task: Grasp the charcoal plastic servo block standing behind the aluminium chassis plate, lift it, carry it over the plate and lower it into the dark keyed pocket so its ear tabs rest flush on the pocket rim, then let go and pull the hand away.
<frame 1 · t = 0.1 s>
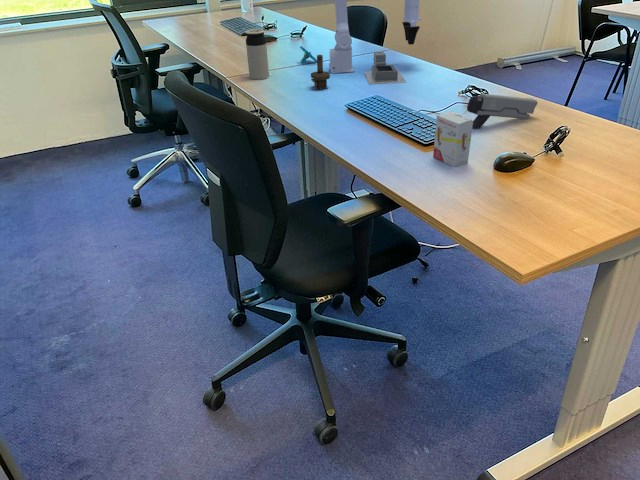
hand: (409, 42, 211), 10 cm above the table, tool pointing down, fingers open, 7 cm apart
servo: (379, 69, 216), on the table
ink box: (449, 160, 137), on the table
gun: (499, 124, 158), on the table
teal angled stand: (308, 63, 229), on the table
travel mug: (259, 77, 212), on the table
chassis: (384, 77, 205), on the table
industrial component: (322, 88, 197), on the table
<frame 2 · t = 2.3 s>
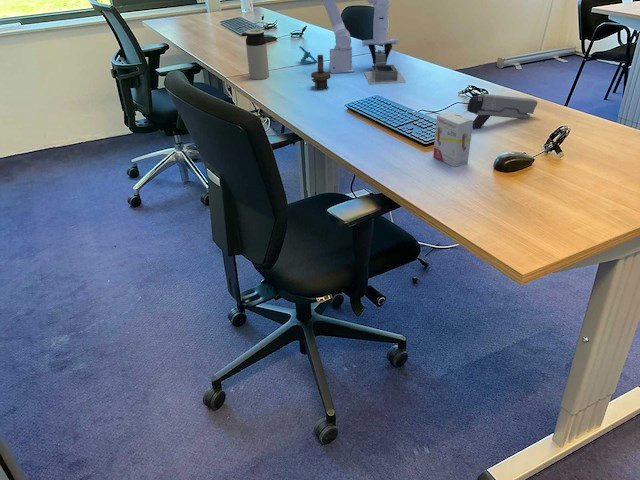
hand: (379, 63, 214), 2 cm above the table, tool pointing down, fingers closed on servo, 4 cm apart
servo: (379, 69, 215), on the table, touching gripper
everything else where it was.
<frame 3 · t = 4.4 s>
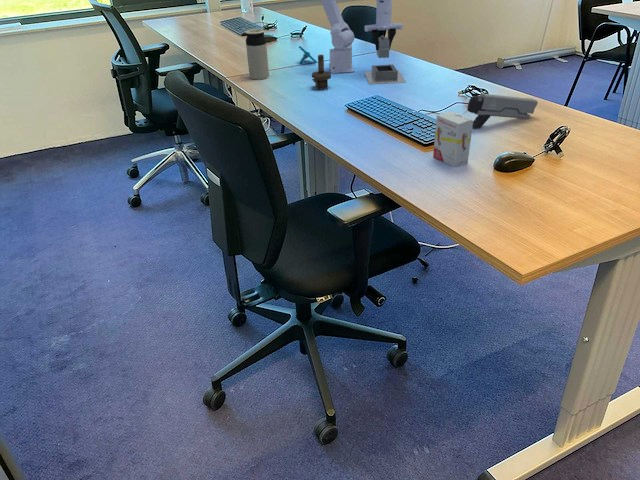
hand: (382, 49, 204), 9 cm above the table, tool pointing down, fingers closed on servo, 4 cm apart
servo: (382, 56, 206), point 7 cm above the table, touching gripper
everything else where it was.
when the fingers open (4 cm above the table, at t = 6.5 s): servo drops 1 cm, resting on chassis.
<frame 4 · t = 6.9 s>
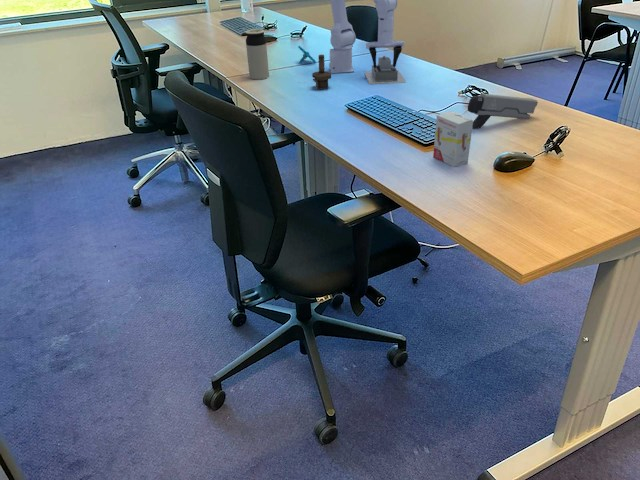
hand: (384, 66, 202), 4 cm above the table, tool pointing down, fingers open, 7 cm apart
servo: (384, 76, 204), point 1 cm above the table, touching chassis
everything else where it was.
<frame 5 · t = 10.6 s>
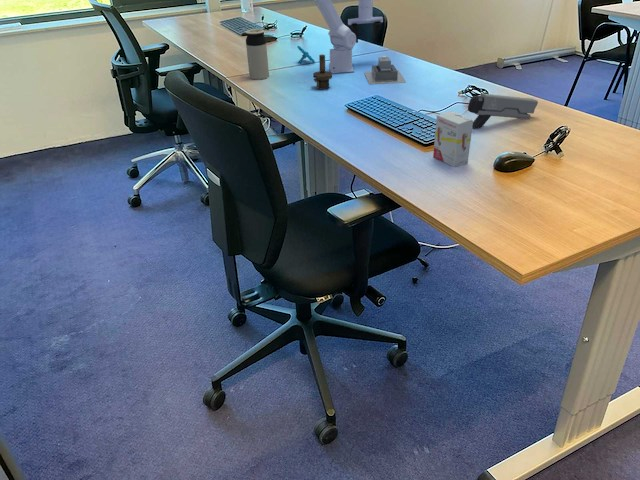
hand: (365, 41, 218), 9 cm above the table, tool pointing down, fingers open, 7 cm apart
at the end: servo 0.2 cm off-centre on the chassis, point 0.6 cm above the chassis's base; servo tilted 0°; the gripper is holding nothing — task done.
